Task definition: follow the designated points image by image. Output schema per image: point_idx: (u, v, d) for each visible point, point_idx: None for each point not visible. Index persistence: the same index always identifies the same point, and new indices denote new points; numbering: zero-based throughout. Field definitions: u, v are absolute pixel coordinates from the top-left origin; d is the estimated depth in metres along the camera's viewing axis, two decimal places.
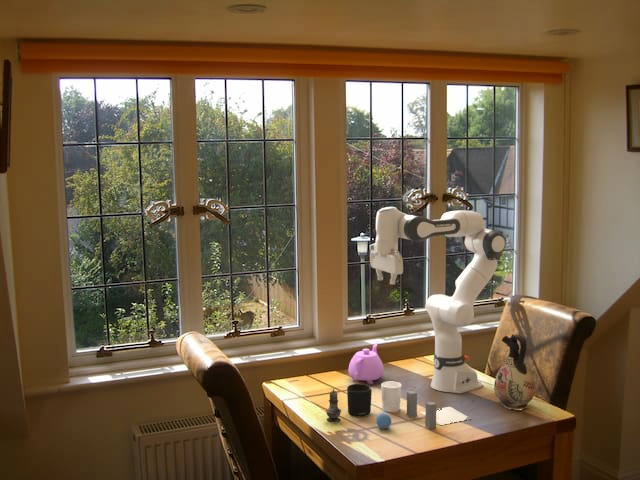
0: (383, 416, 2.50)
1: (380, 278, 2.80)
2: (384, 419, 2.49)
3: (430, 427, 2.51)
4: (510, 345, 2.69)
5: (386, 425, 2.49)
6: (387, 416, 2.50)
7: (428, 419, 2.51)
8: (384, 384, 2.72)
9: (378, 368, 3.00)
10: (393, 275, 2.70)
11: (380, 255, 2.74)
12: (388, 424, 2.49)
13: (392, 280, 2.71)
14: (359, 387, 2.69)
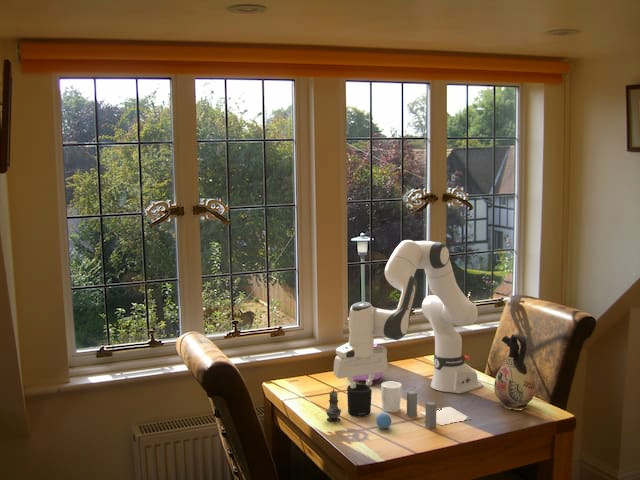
0: (383, 416, 2.50)
1: None
2: (384, 419, 2.49)
3: (430, 427, 2.51)
4: (510, 345, 2.69)
5: (386, 425, 2.49)
6: (387, 416, 2.50)
7: (428, 419, 2.51)
8: (384, 384, 2.72)
9: None
10: None
11: (366, 358, 2.42)
12: (388, 424, 2.49)
13: None
14: (359, 387, 2.69)
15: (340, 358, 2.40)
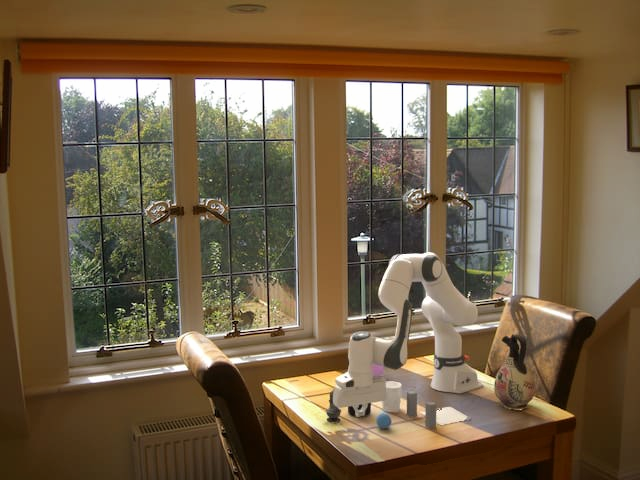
0: (383, 416, 2.50)
1: None
2: (384, 419, 2.49)
3: (430, 427, 2.51)
4: (510, 345, 2.69)
5: (386, 425, 2.49)
6: (387, 416, 2.50)
7: (428, 419, 2.51)
8: None
9: (378, 368, 3.00)
10: None
11: (365, 388, 2.43)
12: (388, 424, 2.49)
13: None
14: None
15: (339, 388, 2.41)
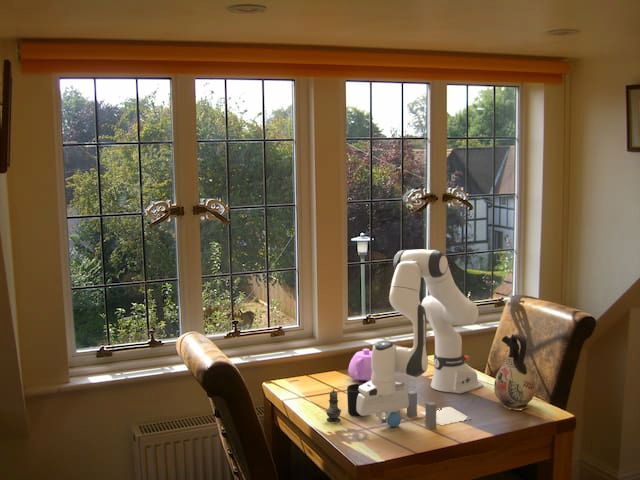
0: (399, 415, 2.52)
1: None
2: (398, 417, 2.51)
3: (430, 427, 2.51)
4: (510, 345, 2.69)
5: (395, 421, 2.50)
6: (400, 418, 2.53)
7: (428, 419, 2.51)
8: None
9: None
10: None
11: (388, 396, 2.48)
12: (396, 423, 2.51)
13: None
14: None
15: (363, 396, 2.46)
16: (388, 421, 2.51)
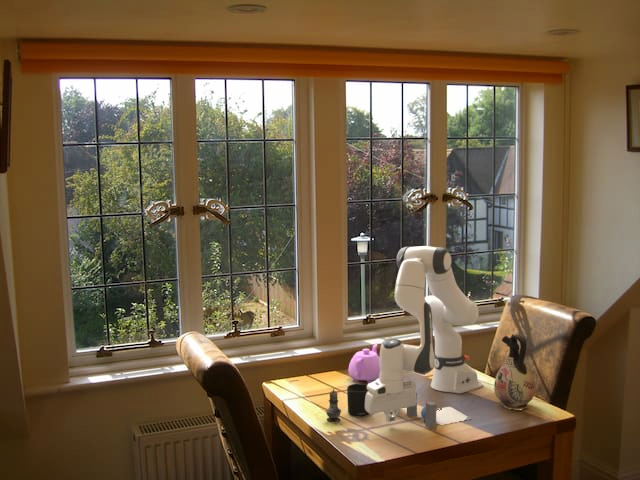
0: None
1: None
2: None
3: (430, 427, 2.51)
4: (510, 345, 2.69)
5: None
6: None
7: (428, 419, 2.51)
8: None
9: (378, 368, 3.00)
10: None
11: (396, 394, 2.49)
12: None
13: None
14: (359, 387, 2.69)
15: (371, 394, 2.47)
16: None
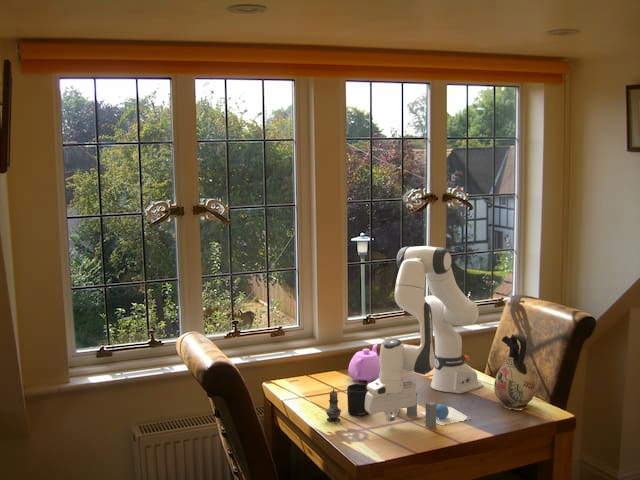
0: (448, 412, 2.60)
1: None
2: (448, 412, 2.59)
3: (430, 427, 2.51)
4: (510, 345, 2.69)
5: (444, 412, 2.58)
6: (446, 416, 2.60)
7: (428, 419, 2.51)
8: None
9: (378, 368, 3.00)
10: None
11: (396, 394, 2.49)
12: (443, 414, 2.58)
13: None
14: (359, 387, 2.69)
15: (371, 394, 2.47)
16: (438, 408, 2.59)
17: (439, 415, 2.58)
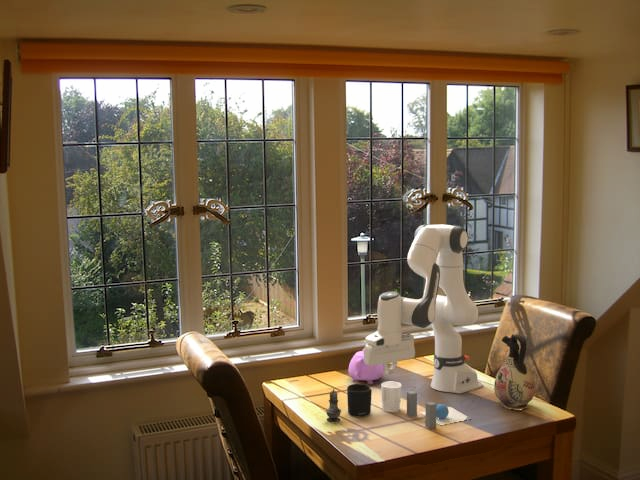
0: (448, 412, 2.60)
1: None
2: (448, 412, 2.59)
3: (430, 427, 2.51)
4: (510, 345, 2.69)
5: (444, 412, 2.58)
6: (446, 416, 2.60)
7: (428, 419, 2.51)
8: (384, 384, 2.72)
9: (378, 368, 3.00)
10: None
11: (395, 346, 2.51)
12: (443, 414, 2.58)
13: None
14: (359, 387, 2.69)
15: (370, 346, 2.48)
16: (438, 408, 2.59)
17: (439, 415, 2.58)
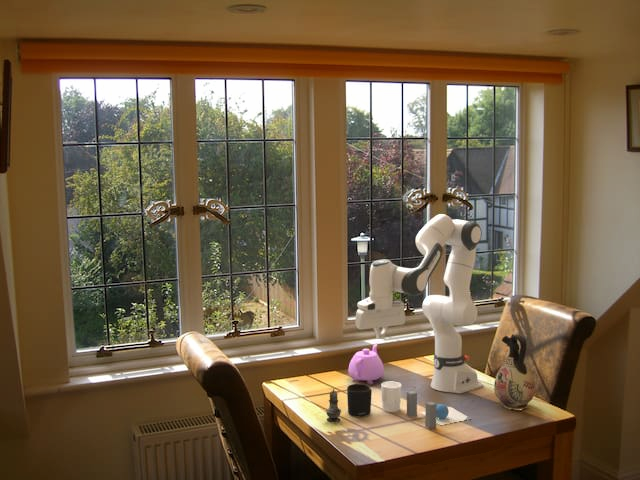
0: (448, 412, 2.60)
1: None
2: (448, 412, 2.59)
3: (430, 427, 2.51)
4: (510, 345, 2.69)
5: (444, 412, 2.58)
6: (446, 416, 2.60)
7: (428, 419, 2.51)
8: (384, 384, 2.72)
9: (378, 368, 3.00)
10: None
11: (386, 311, 2.61)
12: (443, 414, 2.58)
13: None
14: (359, 387, 2.69)
15: (362, 311, 2.59)
16: (438, 408, 2.59)
17: (439, 415, 2.58)
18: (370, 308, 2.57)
